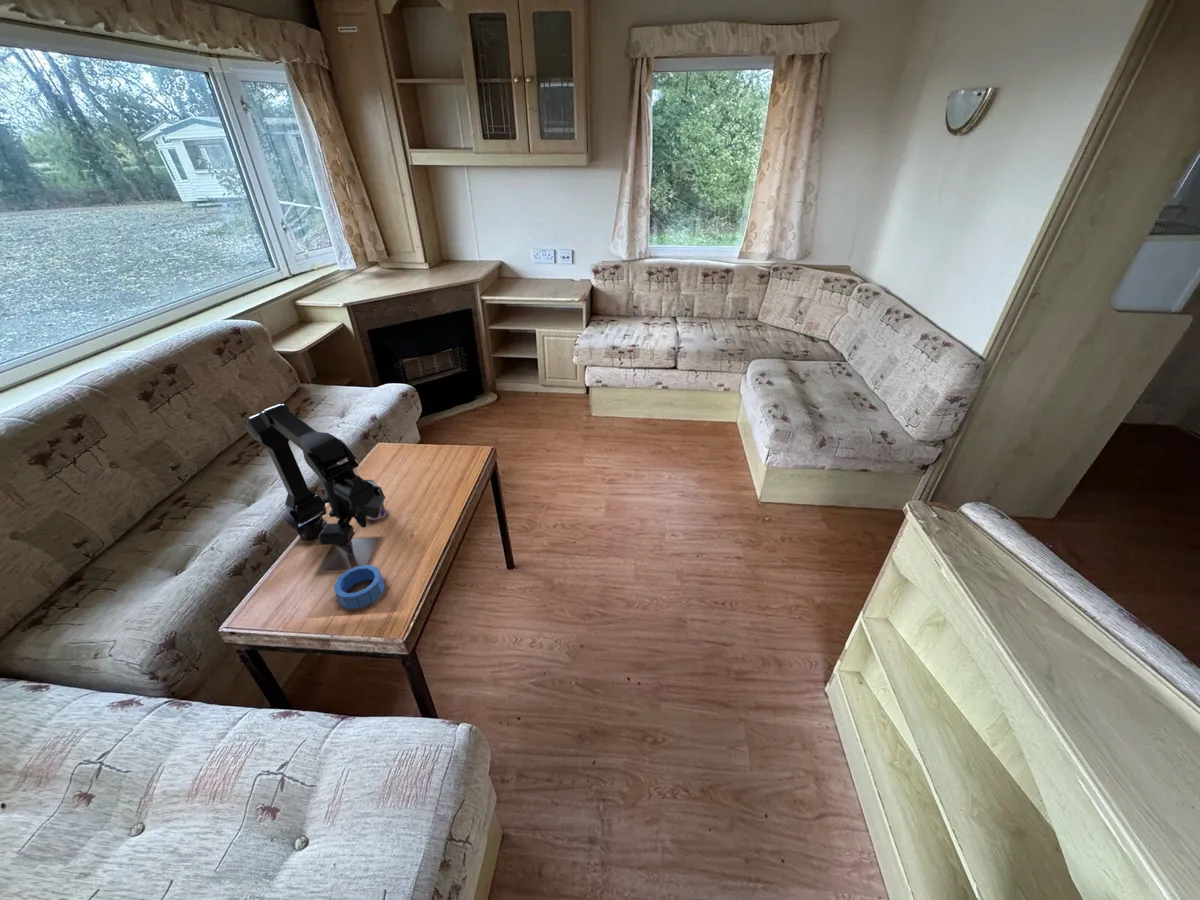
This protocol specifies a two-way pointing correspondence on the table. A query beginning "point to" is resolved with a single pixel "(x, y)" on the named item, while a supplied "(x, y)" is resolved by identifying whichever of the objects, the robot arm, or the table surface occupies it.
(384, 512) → the energy drink
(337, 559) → the tape stand
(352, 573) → the tape roll
